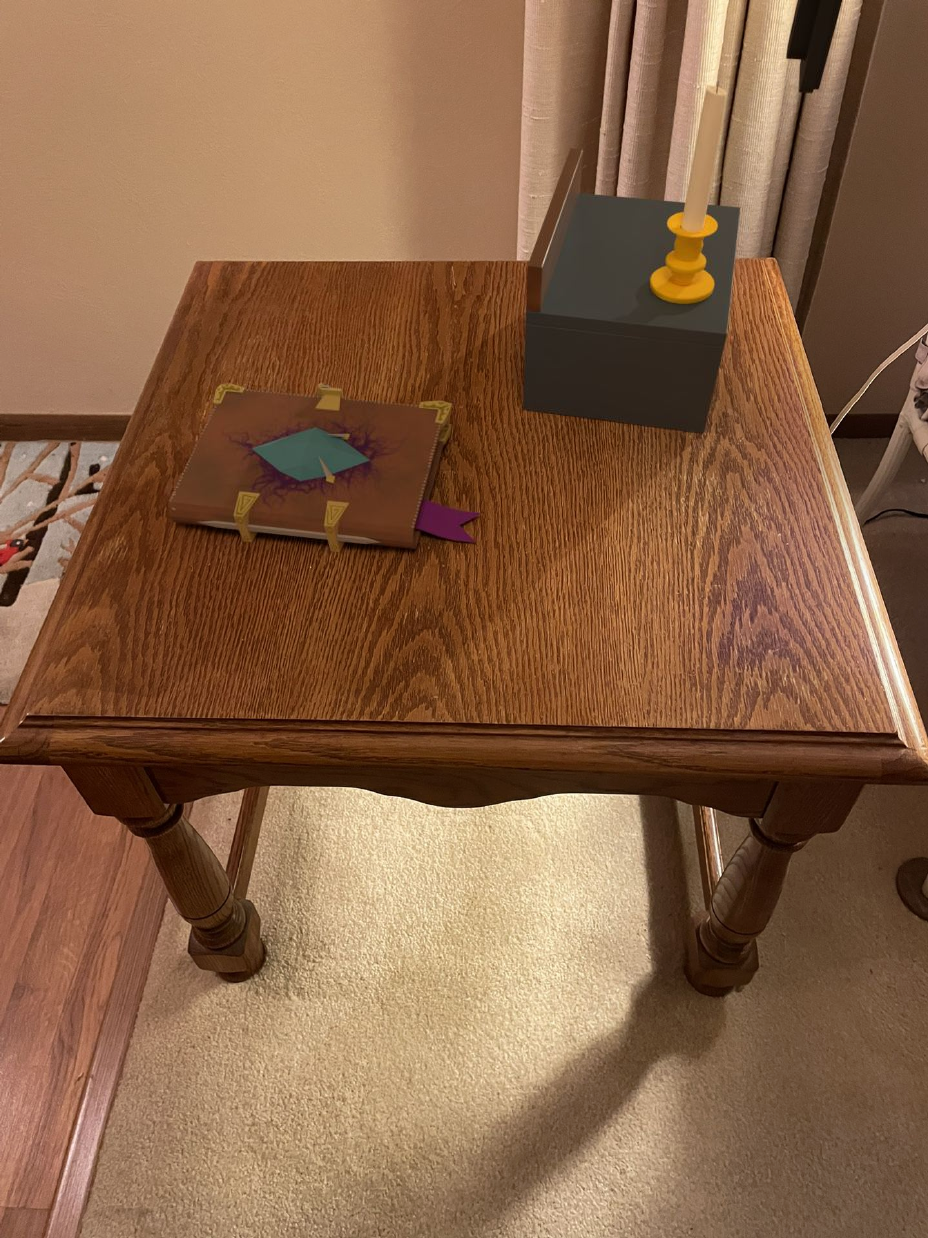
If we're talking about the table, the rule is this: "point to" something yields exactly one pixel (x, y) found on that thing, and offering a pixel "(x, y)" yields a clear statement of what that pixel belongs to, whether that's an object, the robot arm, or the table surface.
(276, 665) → the table surface
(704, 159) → the candle
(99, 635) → the table surface
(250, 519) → the book
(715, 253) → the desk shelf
